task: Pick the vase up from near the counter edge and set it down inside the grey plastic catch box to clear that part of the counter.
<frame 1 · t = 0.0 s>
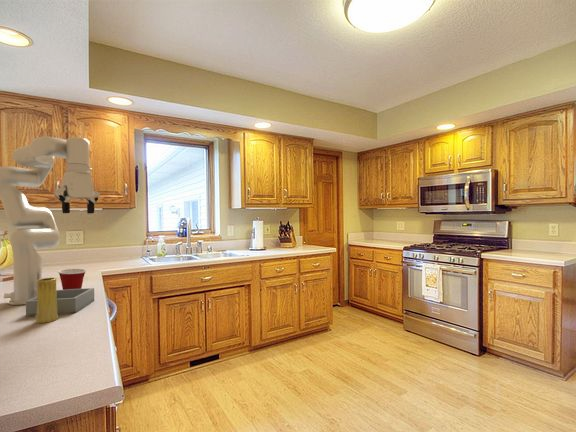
hand: (78, 213, 123), 37 cm above the counter, tool pointing down, fingers open, 9 cm apart
plastic cup: (72, 296, 143), on the counter
vase: (47, 320, 109), on the counter
catch box: (63, 308, 124), on the counter
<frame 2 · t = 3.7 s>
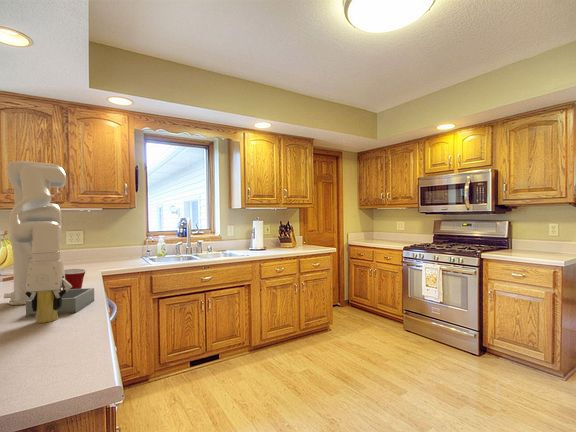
hand: (47, 309, 109), 4 cm above the counter, tool pointing down, fingers closed on vase, 5 cm apart
vase: (47, 320, 109), on the counter, touching gripper
everything else where it was.
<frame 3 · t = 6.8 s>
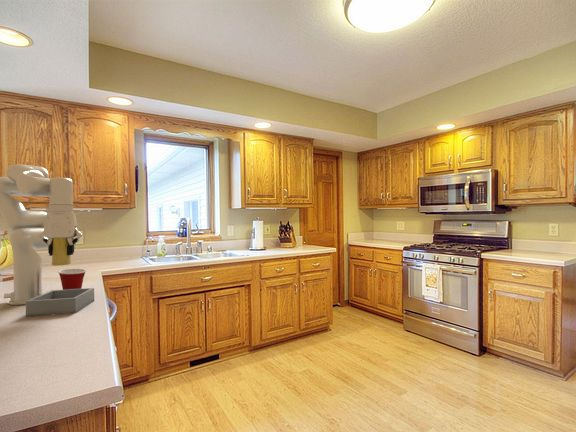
hand: (61, 254, 124), 21 cm above the counter, tool pointing down, fingers closed on vase, 5 cm apart
vase: (61, 264, 124), point 17 cm above the counter, touching gripper
everything else where it was.
when the fingers open (6 cm above the counter, at t = 10.2 s): vase drops 1 cm, resting on catch box.
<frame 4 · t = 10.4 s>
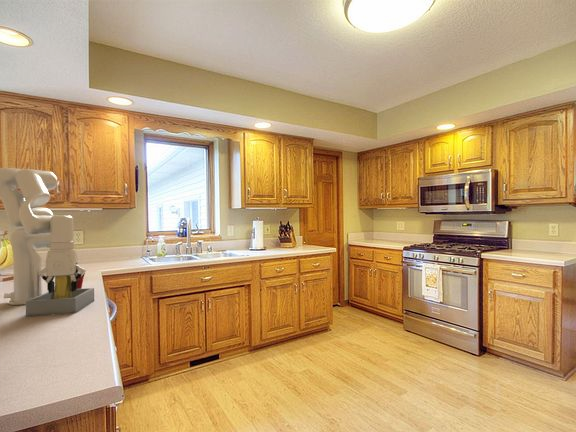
hand: (62, 291, 124), 7 cm above the counter, tool pointing down, fingers open, 7 cm apart
vase: (62, 306, 124), point 1 cm above the counter, touching catch box
everything else where it was.
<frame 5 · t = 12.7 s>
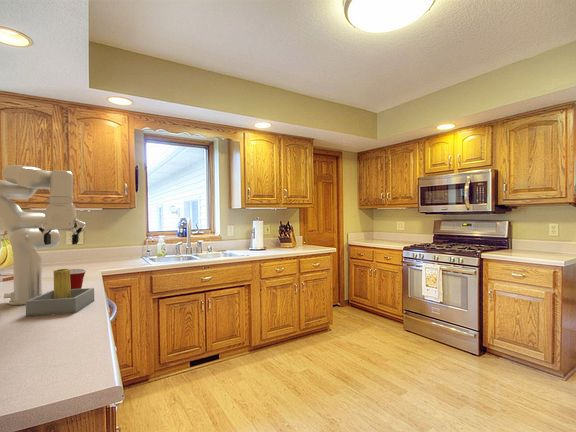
hand: (61, 244, 126), 25 cm above the counter, tool pointing down, fingers open, 9 cm apart
nothing on the counter moved.
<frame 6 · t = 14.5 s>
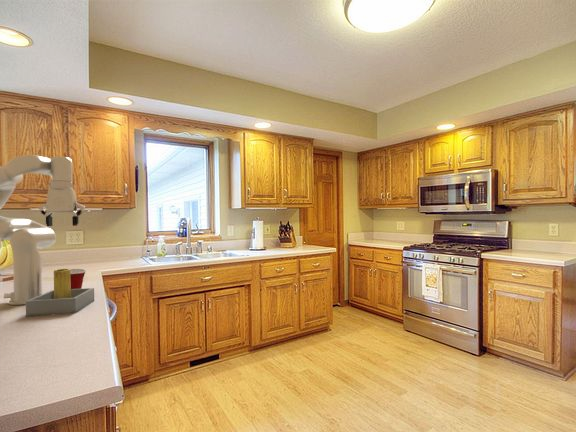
hand: (62, 225, 135), 32 cm above the counter, tool pointing down, fingers open, 9 cm apart
nothing on the counter moved.
at the end: vase inside the target area on the catch box (0.2 cm from its centre), point 0.6 cm above the catch box's base; the gripper is holding nothing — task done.
